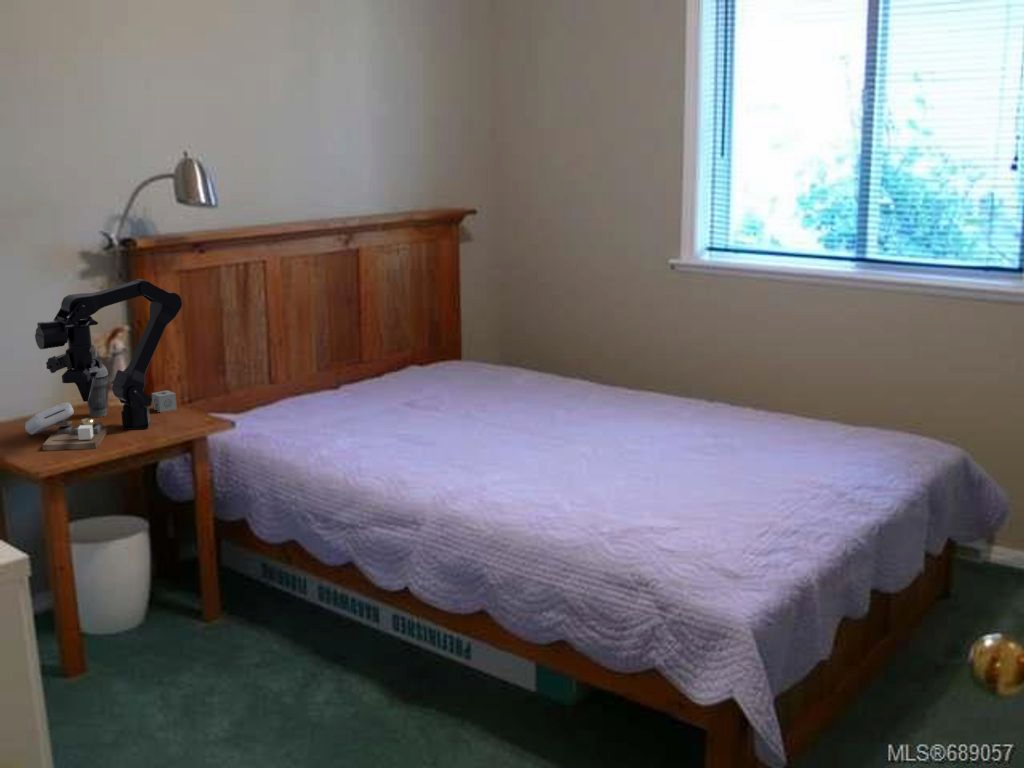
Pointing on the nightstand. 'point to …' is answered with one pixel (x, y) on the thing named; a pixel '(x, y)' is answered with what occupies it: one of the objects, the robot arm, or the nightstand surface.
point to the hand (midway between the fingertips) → (85, 401)
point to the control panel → (74, 438)
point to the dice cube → (164, 401)
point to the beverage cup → (99, 392)
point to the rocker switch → (64, 423)
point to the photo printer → (49, 418)
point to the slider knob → (85, 432)
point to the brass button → (88, 421)
